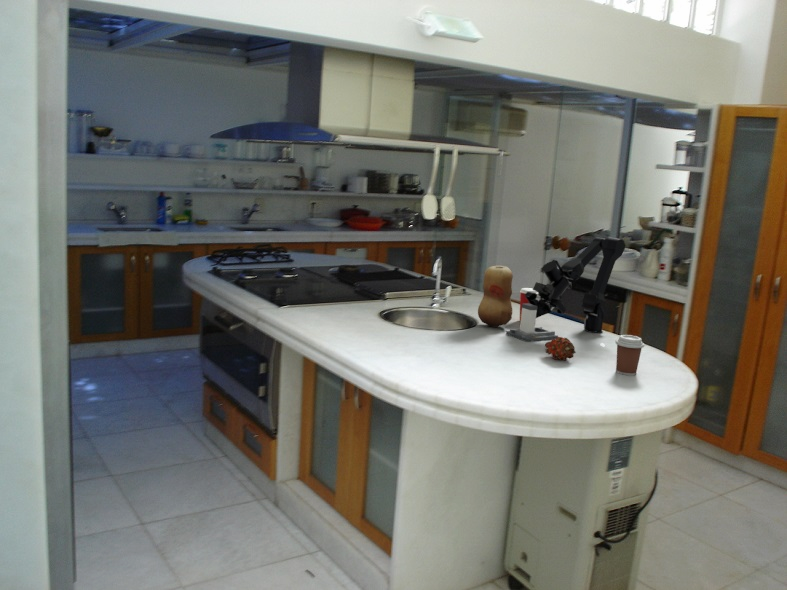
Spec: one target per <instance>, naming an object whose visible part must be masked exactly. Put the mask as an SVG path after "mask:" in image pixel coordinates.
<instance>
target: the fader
mask: <svg viewBox="0 0 787 590" xmlns="http://www.w3.org/2000/svg"><path fill="white" fill-rule="evenodd" d="M536 312H537V306H536V305H532V304H529V303H526V304H522V314H521V322H520V324H519V325H520V326H519V329H520V330H517V331H520V332H523V333H537V332H535V327H536V321H537V320H536V319H537V318H536Z"/></svg>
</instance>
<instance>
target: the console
mask: <svg viewBox="0 0 787 590" xmlns="http://www.w3.org/2000/svg"><path fill="white" fill-rule="evenodd" d="M517 330H520V328H511V329H509V330H506V331H505V334H506V335H507V336H510V337H513V338H515V339H518V340H520V341H523V342H526V343H529V342H539V340H540V341H549V340H550V341H551V340H555V339H557V338H558V337H559V335H557V334H556V331H554V330H549V329H544V328H543V327H542V326H535V332H537V333H523V332H520V331H517Z"/></svg>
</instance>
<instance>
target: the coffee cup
mask: <svg viewBox="0 0 787 590" xmlns="http://www.w3.org/2000/svg"><path fill="white" fill-rule="evenodd" d="M642 340H643V339H642V337H639V336H637V335H632V334H621V335H619V336H618V338H617V339H616V340H615V344H616V362H615V363H616V365H615V366H616V367H615V372H616V373H618V374H620V375H625V376H636V375H637V371H638V366H639V362H640V356H641V353H642V349H643V348H644V347H645V343H644V342H643V341H642Z"/></svg>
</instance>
